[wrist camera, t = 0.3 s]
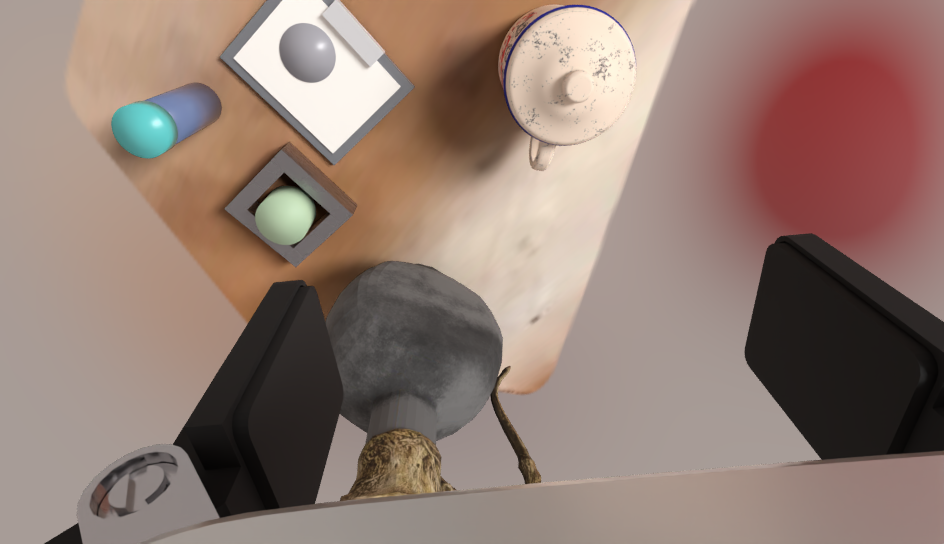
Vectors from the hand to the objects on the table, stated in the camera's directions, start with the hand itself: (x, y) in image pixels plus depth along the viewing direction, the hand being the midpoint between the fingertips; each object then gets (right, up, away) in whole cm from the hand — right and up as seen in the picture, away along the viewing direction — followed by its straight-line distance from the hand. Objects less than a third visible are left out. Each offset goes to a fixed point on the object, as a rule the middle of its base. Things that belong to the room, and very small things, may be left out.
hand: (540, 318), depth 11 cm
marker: (-24, +15, +32) cm, 43 cm away
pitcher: (-6, -2, +43) cm, 43 cm away
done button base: (-18, +8, +37) cm, 41 cm away
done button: (-18, +7, +35) cm, 40 cm away
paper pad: (-14, +18, +31) cm, 38 cm away
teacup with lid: (+5, +17, +32) cm, 37 cm away
